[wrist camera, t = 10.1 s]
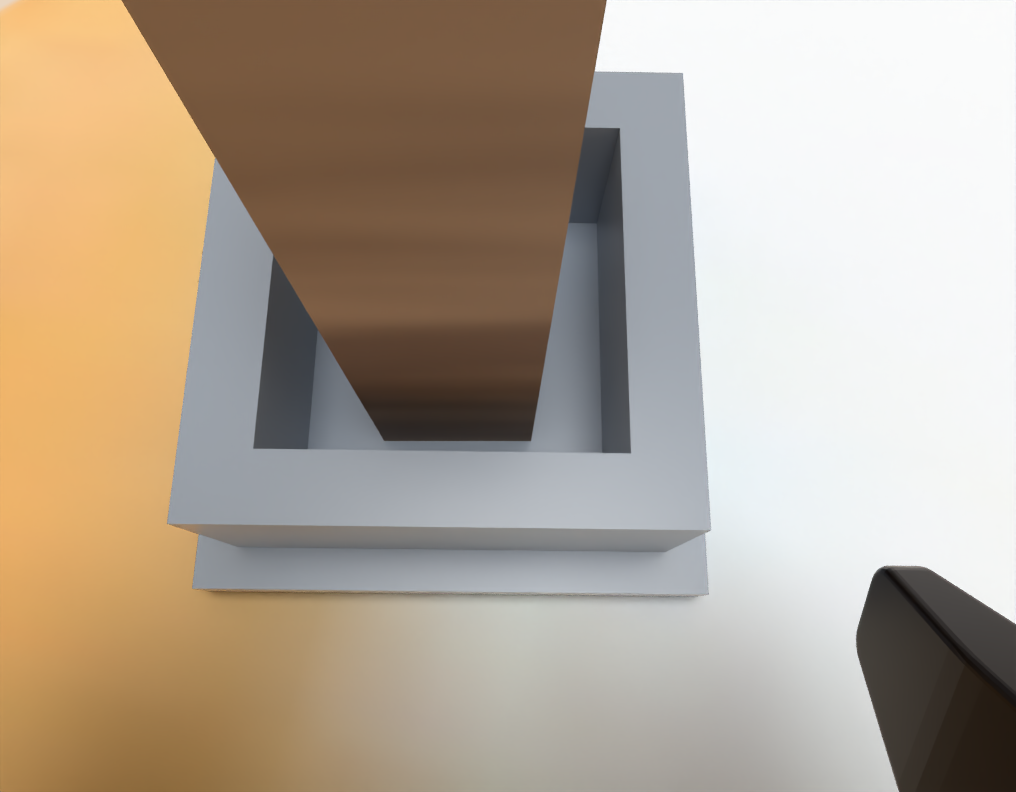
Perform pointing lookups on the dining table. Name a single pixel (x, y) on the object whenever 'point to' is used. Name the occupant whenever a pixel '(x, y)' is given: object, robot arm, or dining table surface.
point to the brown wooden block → (402, 181)
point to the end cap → (467, 464)
